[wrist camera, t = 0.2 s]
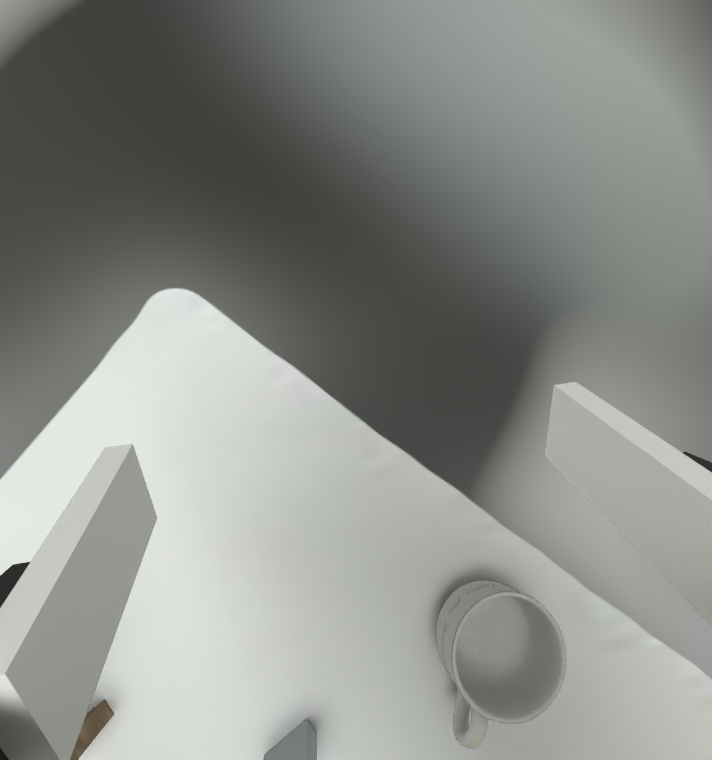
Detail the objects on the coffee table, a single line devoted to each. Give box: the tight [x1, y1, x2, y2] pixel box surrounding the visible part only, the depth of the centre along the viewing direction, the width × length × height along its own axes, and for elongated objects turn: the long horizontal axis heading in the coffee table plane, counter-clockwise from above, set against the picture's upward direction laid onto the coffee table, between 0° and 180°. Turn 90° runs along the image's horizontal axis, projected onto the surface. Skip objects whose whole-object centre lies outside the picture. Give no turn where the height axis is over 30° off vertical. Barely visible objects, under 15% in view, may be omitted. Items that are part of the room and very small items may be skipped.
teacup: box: [436, 580, 566, 749], centre depth 42 cm, size 14×11×8 cm
